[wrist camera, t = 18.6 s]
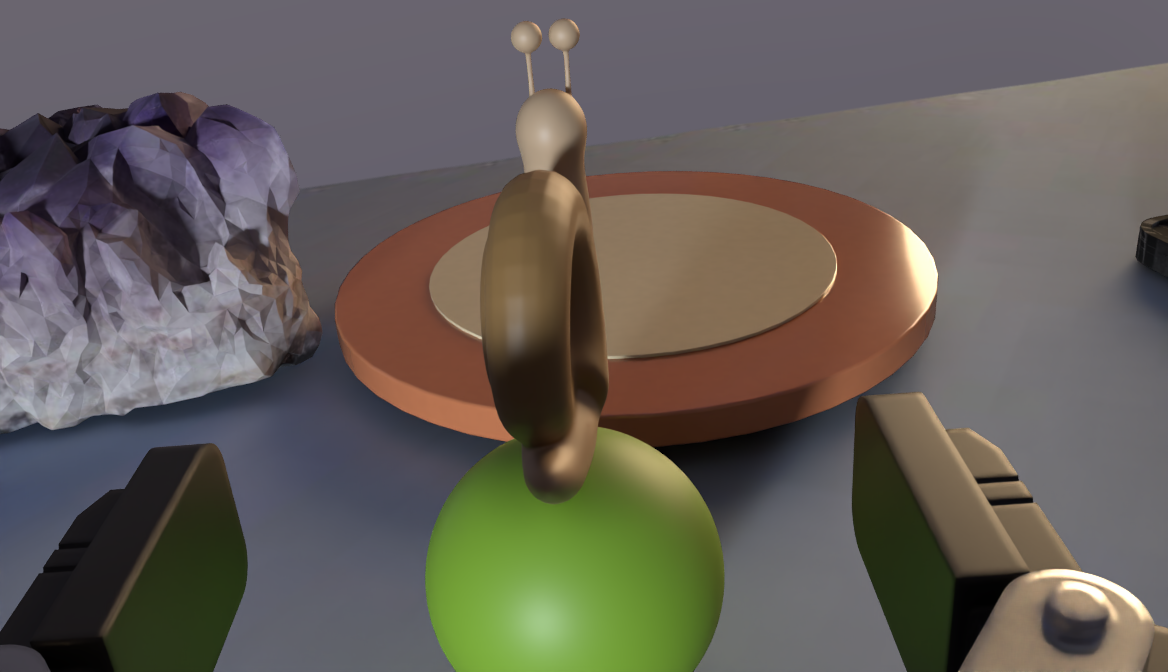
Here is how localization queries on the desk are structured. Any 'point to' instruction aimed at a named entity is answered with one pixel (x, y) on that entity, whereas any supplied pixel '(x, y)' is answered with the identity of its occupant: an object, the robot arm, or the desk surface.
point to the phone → (1154, 244)
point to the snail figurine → (564, 453)
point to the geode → (144, 259)
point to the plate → (663, 306)
